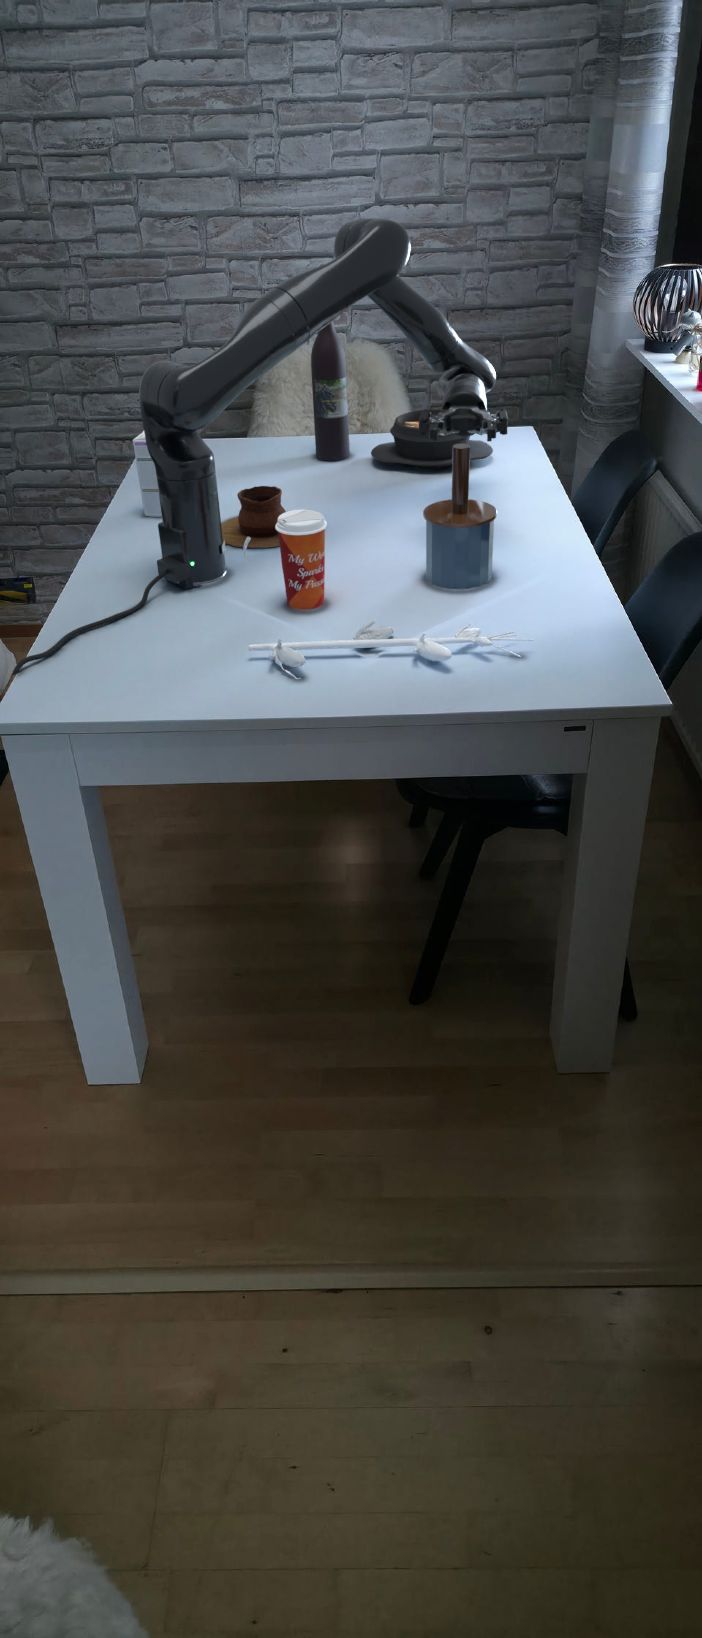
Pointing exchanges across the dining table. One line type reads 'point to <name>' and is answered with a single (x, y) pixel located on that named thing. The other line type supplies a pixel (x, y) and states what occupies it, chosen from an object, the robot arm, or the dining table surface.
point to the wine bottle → (330, 396)
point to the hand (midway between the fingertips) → (462, 435)
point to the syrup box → (147, 477)
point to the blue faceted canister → (459, 555)
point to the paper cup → (303, 557)
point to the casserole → (424, 445)
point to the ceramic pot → (255, 518)
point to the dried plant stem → (377, 642)
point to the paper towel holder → (460, 498)
